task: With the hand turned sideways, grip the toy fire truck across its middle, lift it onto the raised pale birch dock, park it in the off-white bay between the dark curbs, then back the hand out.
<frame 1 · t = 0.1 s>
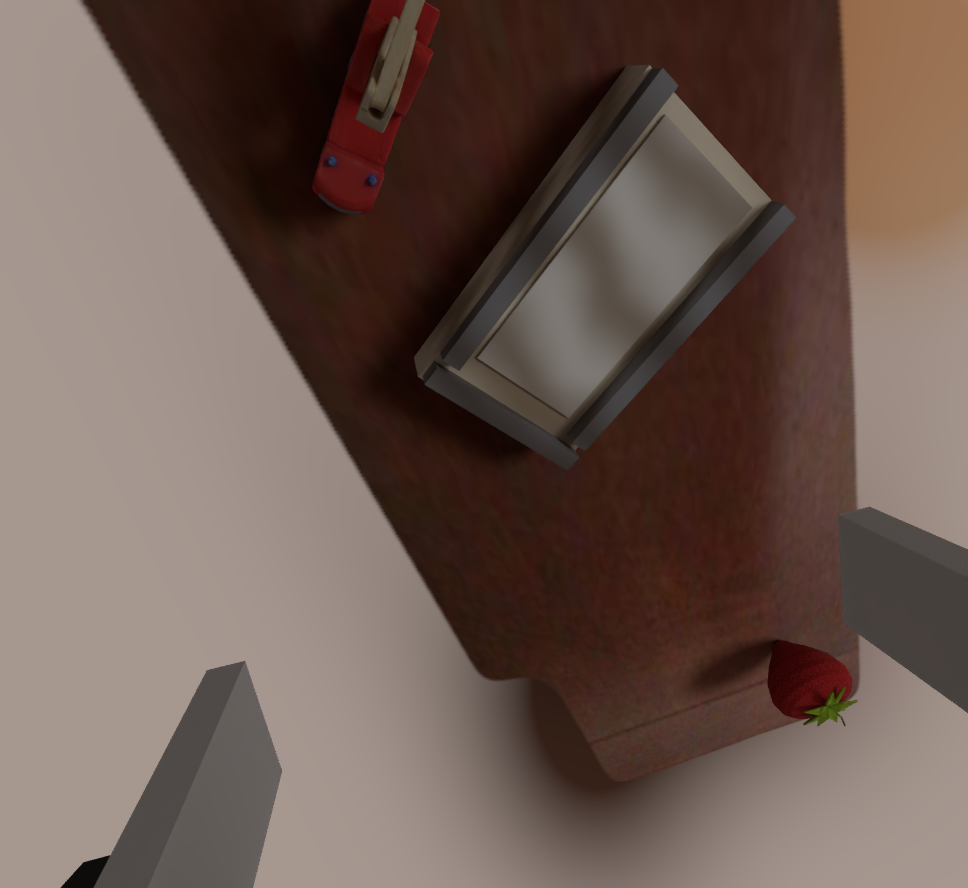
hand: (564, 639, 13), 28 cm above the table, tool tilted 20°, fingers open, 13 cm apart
strawberry: (775, 640, 62), on the table
toy fire truck: (384, 69, 30), on the table
dock: (582, 282, 38), on the table
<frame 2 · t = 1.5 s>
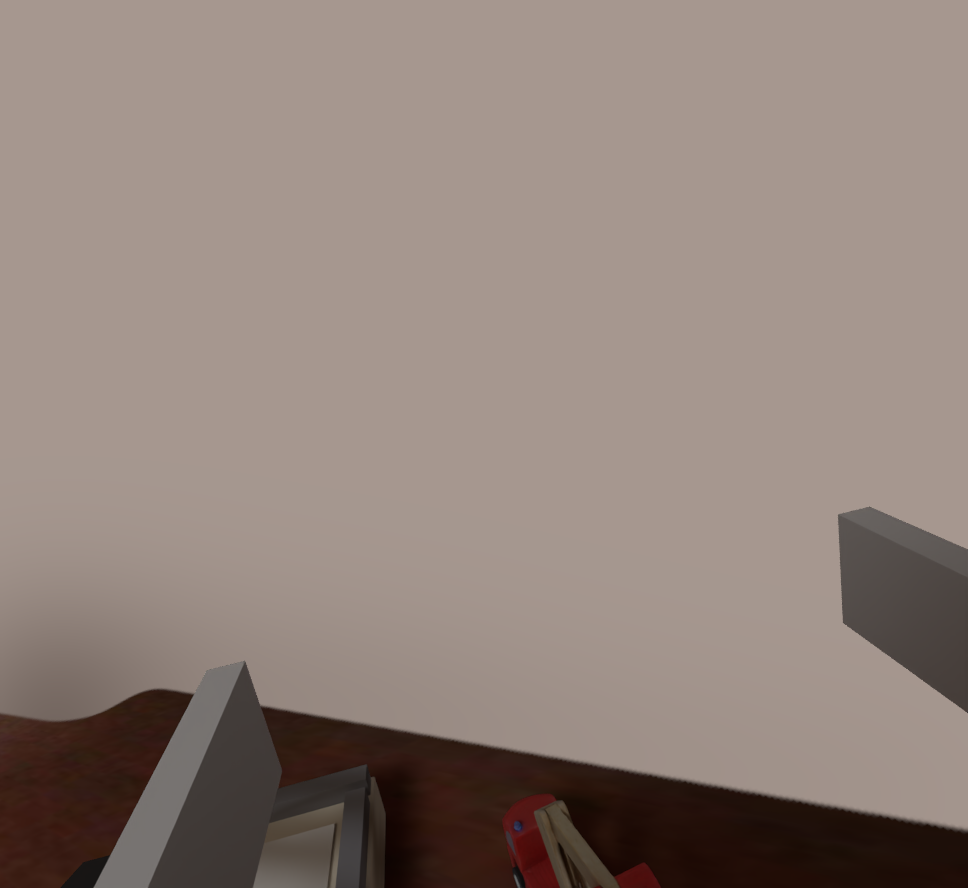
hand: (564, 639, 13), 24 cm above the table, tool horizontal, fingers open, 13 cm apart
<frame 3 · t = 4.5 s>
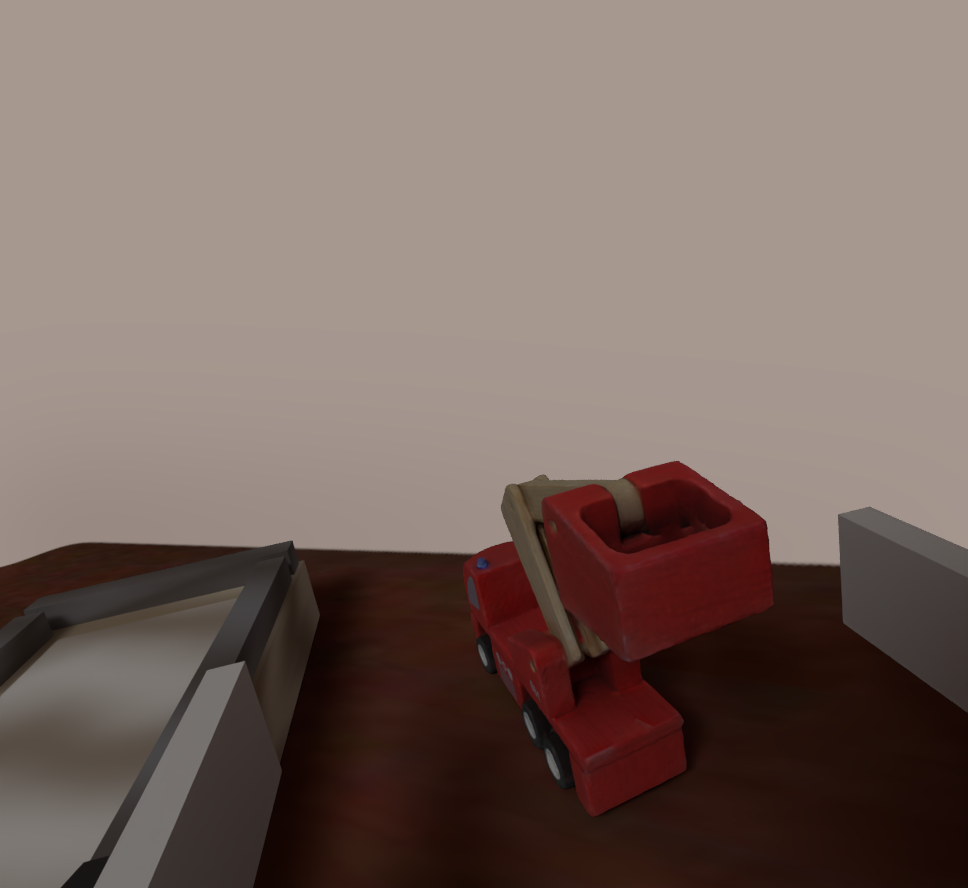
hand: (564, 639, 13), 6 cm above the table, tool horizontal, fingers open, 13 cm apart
toy fire truck: (585, 740, 19), on the table
dock: (94, 813, 20), on the table
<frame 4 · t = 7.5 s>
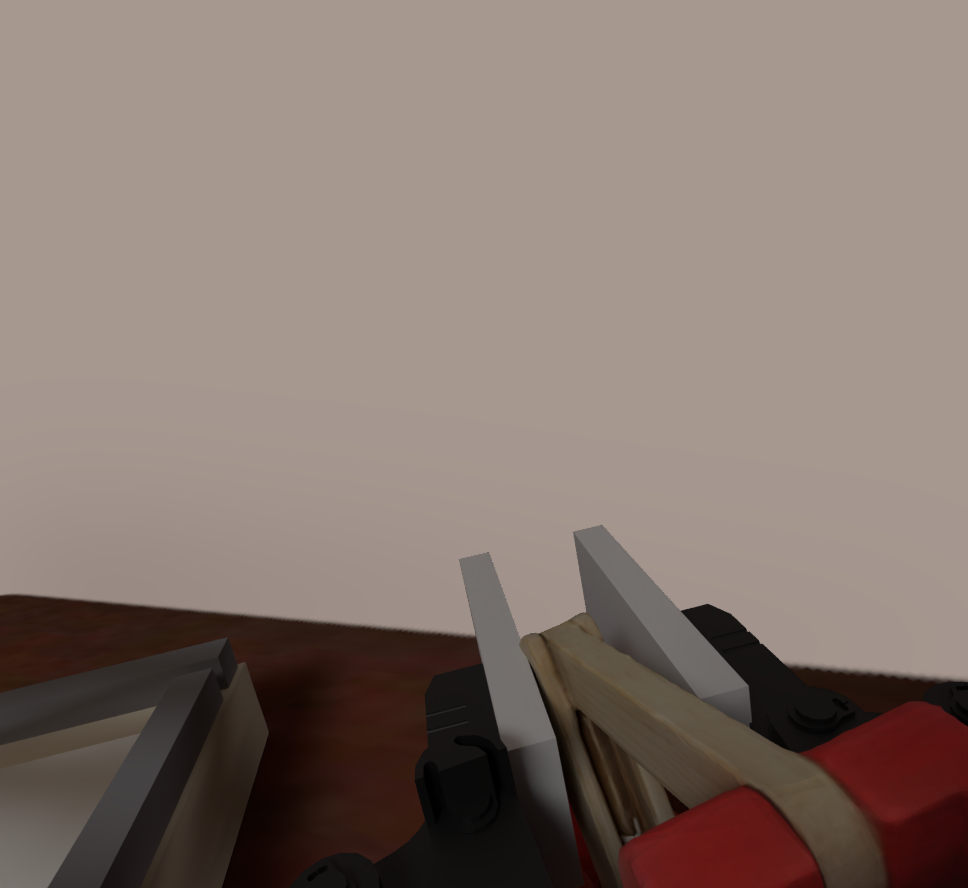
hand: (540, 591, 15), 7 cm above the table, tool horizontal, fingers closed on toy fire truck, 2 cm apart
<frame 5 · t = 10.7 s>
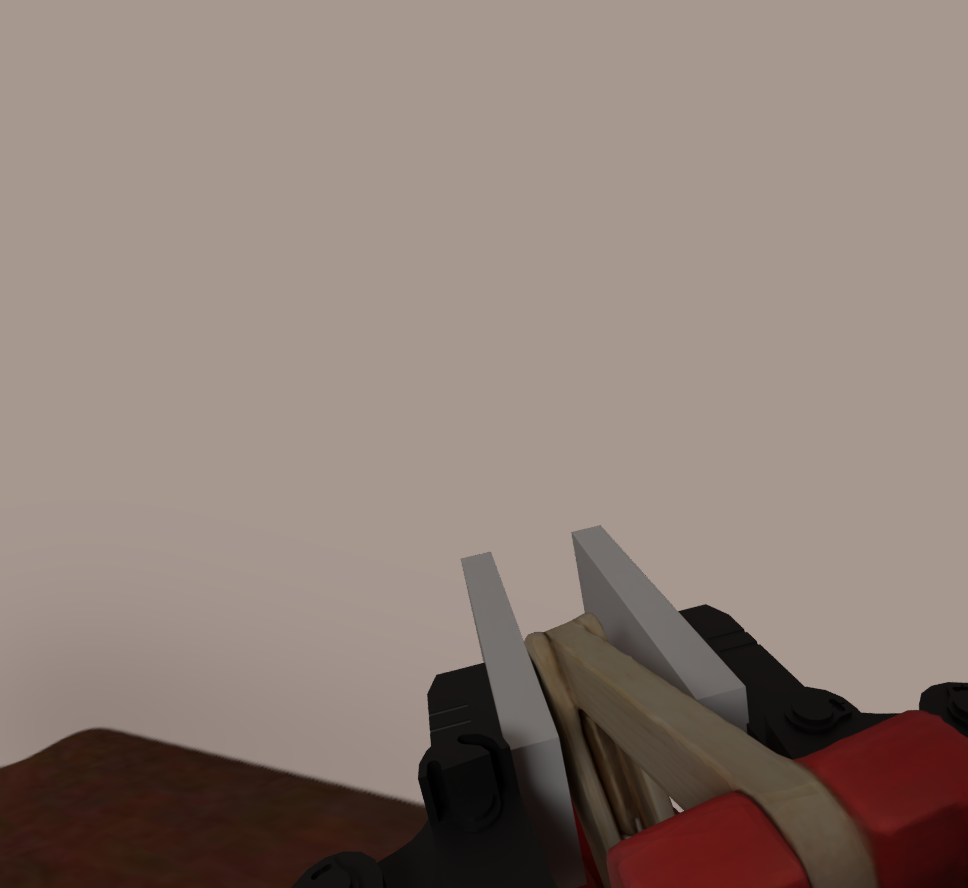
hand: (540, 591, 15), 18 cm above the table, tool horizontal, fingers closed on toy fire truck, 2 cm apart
when the fingers open (11 cm above the table, at t = 14.1 s): toy fire truck drops 1 cm, resting on dock.
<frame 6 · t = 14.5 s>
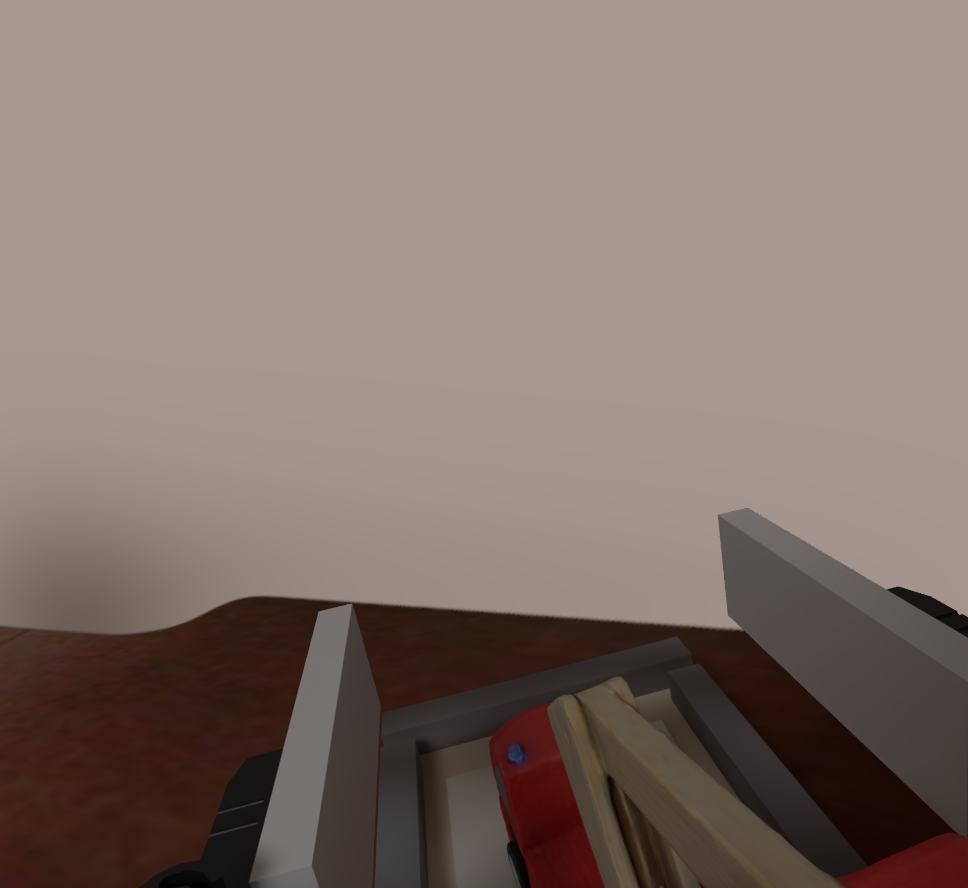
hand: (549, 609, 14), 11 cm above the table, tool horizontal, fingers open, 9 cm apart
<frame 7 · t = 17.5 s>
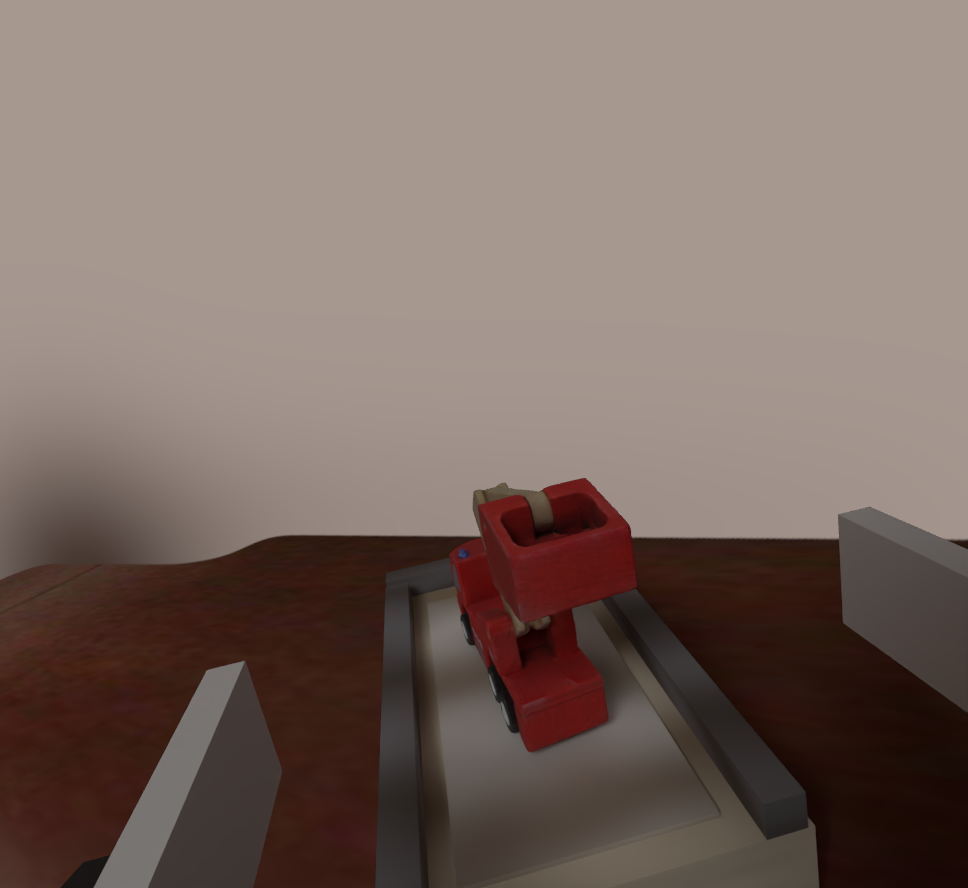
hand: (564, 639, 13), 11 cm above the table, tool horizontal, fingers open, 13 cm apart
toy fire truck: (538, 698, 23), point 3 cm above the table, touching dock
dock: (536, 725, 26), on the table
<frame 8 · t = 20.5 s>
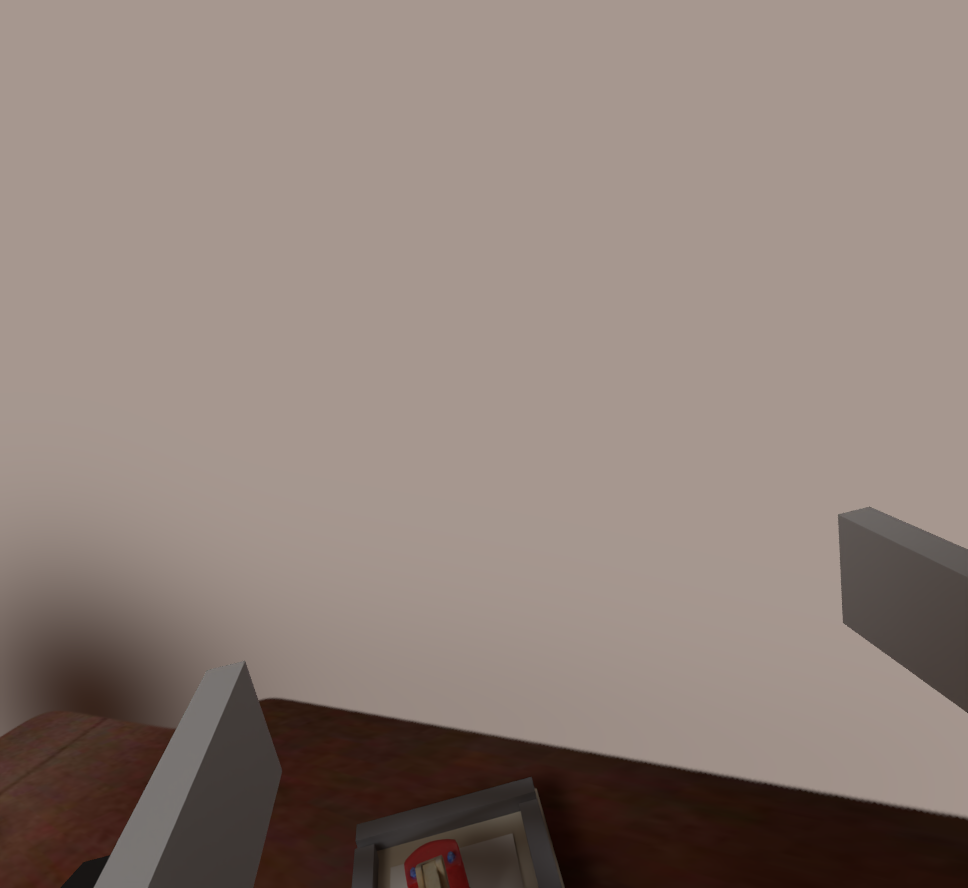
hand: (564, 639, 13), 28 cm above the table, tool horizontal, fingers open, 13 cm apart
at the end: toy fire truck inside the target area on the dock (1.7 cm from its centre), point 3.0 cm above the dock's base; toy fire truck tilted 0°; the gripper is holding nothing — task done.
